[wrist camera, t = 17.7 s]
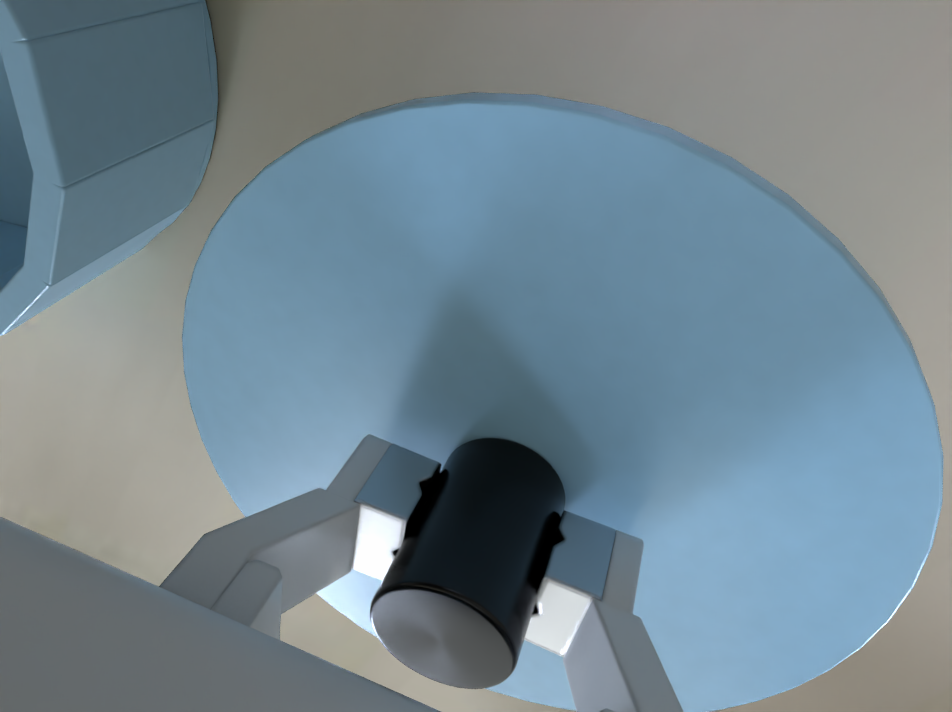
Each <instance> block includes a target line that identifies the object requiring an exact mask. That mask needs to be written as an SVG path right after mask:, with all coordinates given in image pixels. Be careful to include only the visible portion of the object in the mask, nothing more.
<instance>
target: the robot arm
mask: <svg viewBox="0 0 952 712" xmlns="http://www.w3.org/2000/svg"><path fill="white" fill-rule="evenodd" d="M440 470H441V463H439V462H437V461H435V460H432V459H430V458H427V457H425V456H423V455H420V454H418V453H415V452H413V451H411V450H408V449H406V448H403V447H401V446H398V445H396V444H394V443H393V444H392V443H390V442H388V441H385V440H383V439H380V438H378V437H376V436H373V435H371V434H368V435H367V436H366V437H364V438H363V439H362V440H361V442H360V443H359V445H358V446H357V447H356V449H355V450H354V452H353V453H352V454H351V456H350V457H349V459H348V460H347V461H346V463H345V464H344V466H343V467H342V468H341V470H340V471H339V473H338V474H337V475H336V477H335V478H334V480H333V481H332V482H331V484H330V485H329V487H328V488H327V489H326V490H324V489H321V488H317V489H314V490H312V491H309V492H307V493H305V494H302V495H300V496H297V497H295V498H292V499H290V500H287V501H285V502H282V503H280V504H277V505H275V506H272V507H270V508H268V509H265V510H263V511H260V512H258V513H255V514H253V515H250V516H248V517H245V518H243V519H240V520H238V521H235V522H233V523H231V524H228V525H226V526H223V527H221V528H218V529H216V530H213V531H211V532H208V533H206V534H204V535H203V536H202V537H201V538H200V540H199V541H198V542H197V543H196V544H195V545H194V547H193V548H192V549H191V550H190V551H189V552H188V554H187V555H186V556H185V557H184V558H183V559H182V561H181V562H180V563H179V564H178V565H177V566H176V568H175V569H174V570H173V571H172V572H171V573H170V574H169V576H168V577H167V578H166V579H165V580H164V581H163V583H162V584H161V585H160V586H159V587H158V586H156V585H154V584H151V583H149V582H147V581H145V580H142V579H140V578H138V577H136V576H133V575H131V574H129V573H127V572H124V571H122V570H120V569H118V568H115V567H113V566H111V565H109V564H106V563H104V562H102V561H100V560H97V559H95V558H93V557H91V556H88V555H86V554H84V553H82V552H79V551H77V550H75V549H73V548H70V547H68V546H66V545H63V544H61V543H59V542H57V541H54V540H52V539H50V538H48V537H45V536H43V535H41V534H39V533H36V532H34V531H32V530H30V529H27V528H25V527H23V526H21V525H18V524H16V523H14V522H12V521H9V520H7V519H5V518H3V517H0V712H440V711H438V710H436V709H434V708H431V707H429V706H427V705H425V704H422V703H420V702H418V701H416V700H413V699H411V698H409V697H407V696H404V695H402V694H400V693H398V692H395V691H393V690H391V689H388V688H386V687H384V686H382V685H379V684H377V683H375V682H373V681H370V680H368V679H366V678H364V677H361V676H359V675H357V674H355V673H352V672H350V671H348V670H346V669H343V668H341V667H339V666H337V665H334V664H332V663H330V662H328V661H325V660H323V659H321V658H319V657H316V656H314V655H312V654H310V653H307V652H305V651H303V650H300V649H298V648H296V647H294V646H291V645H289V644H287V643H285V642H282V641H280V618H281V614H282V613H284V612H286V611H287V610H289V609H291V608H292V607H294V606H295V605H297V604H299V603H300V602H302V601H304V600H305V599H307V598H309V597H310V596H312V595H313V594H315V593H317V592H318V591H320V590H322V589H323V588H325V587H327V586H328V585H330V584H332V583H333V582H335V581H336V580H338V579H340V578H341V577H343V576H345V575H346V574H348V573H350V572H351V569H354V570H356V571H359V572H361V573H364V574H366V575H369V576H372V577H374V578H377V579H379V580H383V578H384V576H385V575H386V573H387V571H388V569H389V567H390V565H391V563H392V562H393V560H394V558H395V556H396V554H397V552H398V550H399V549H400V547H401V545H402V543H403V541H404V539H405V537H406V535H407V534H408V532H409V530H410V528H411V526H412V524H413V522H414V521H415V519H416V517H417V515H418V513H419V511H420V509H421V508H422V506H423V504H424V502H425V500H426V498H427V496H428V494H429V493H430V491H431V489H432V487H433V485H434V483H435V481H436V480H437V478H438V476H439V474H440ZM643 548H644V543H643V540H642V539H639V538H637V537H634V536H631V535H629V534H626V533H624V532H621V531H618V530H616V531H615V529H613V528H611V527H608V526H605V525H603V524H600V523H597V522H595V521H592V520H589V519H587V518H584V517H581V516H579V515H576V514H573V513H571V512H568V511H565V510H564V511H563V513H562V515H561V517H560V521H559V524H558V527H557V530H556V533H555V536H554V540H553V543H552V549H551V553H550V555H549V558H548V560H547V563H546V566H545V569H544V572H543V576H542V579H541V582H540V586H539V589H538V592H537V598H536V603H535V606H534V610H533V613H532V616H531V619H530V623H529V626H528V629H527V633H526V636H525V639H524V640H526V641H528V642H530V643H532V644H535V645H537V646H539V647H541V648H543V649H546V650H548V651H550V652H552V653H555V654H557V655H559V656H561V657H564V658H563V663H564V667H565V670H566V674H567V678H568V681H569V685H570V689H571V693H572V696H573V700H574V704H575V707H576V711H577V712H684V711H683V709H682V707H681V705H680V703H679V700H678V698H677V696H676V694H675V692H674V690H673V687H672V685H671V683H670V681H669V679H668V676H667V674H666V672H665V670H664V668H663V665H662V663H661V661H660V659H659V657H658V654H657V652H656V650H655V648H654V646H653V644H652V641H651V639H650V637H649V635H648V633H647V630H646V628H645V626H644V624H643V622H642V619H641V618H640V617H638V616H636V615H634V614H633V609H634V603H635V597H636V591H637V585H638V578H639V572H640V566H641V560H642V554H643Z"/></svg>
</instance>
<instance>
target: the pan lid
mask: <svg viewBox="0 0 952 712" xmlns="http://www.w3.org/2000/svg"><path fill="white" fill-rule="evenodd" d="M182 342H183V360H184V374H185V379H186V384H187V389H188V394H189V399H190V404H191V408H192V411H193V414H194V417H195V420H196V423H197V426H198V429H199V432H200V435H201V439H202V441H203V443H204V445H205V448H206V450H207V452H208V454H209V456H210V458H211V461H212V463H213V465H214V467H215V469H216V471H217V473H218V475H219V477H220V478H221V480H222V482H223V483H224V485H225V487H226V488H227V490H228V492H229V494H230V495H231V497H232V499H233V500H234V502H235V503H236V505H237V506H238V508H239V509H240V510H241V512H242V513H243V514H244V516H245V517H248V516H250V515H253V514H255V513H258V512H260V511H263V510H265V509H268V508H270V507H272V506H275V505H277V504H280V503H282V502H285V501H287V500H290V499H292V498H295V497H297V496H300V495H302V494H305V493H307V492H309V491H312V490H314V489H317V488H321V489H324V490H326V489H327V488H328V487H329V485H330V484H331V482H332V481H333V480H334V478H335V477H336V475H337V474H338V473H339V471H340V470H341V468H342V467H343V466H344V464H345V463H346V461H347V460H348V459H349V457H350V456H351V454H352V453H353V452H354V450H355V449H356V447H357V446H358V445H359V443H360V442H361V440H362V439H363V438H364V437H366V436H367V435H368V434H371V435H373V436H376V437H378V438H380V439H383V440H385V441H388V442H390V443H392V444H393V443H394V444H396V445H398V446H401V447H403V448H406V449H408V450H411V451H413V452H415V453H418V454H420V455H423V456H425V457H427V458H430V459H432V460H435V461H437V462H439V463H441V470H440V474H439V476H438V478H437V480H436V481H435V483H434V485H433V487H432V489H431V491H430V493H429V494H428V496H427V498H426V500H425V502H424V504H423V506H422V508H421V509H420V511H419V513H418V515H417V517H416V519H415V521H414V522H413V524H412V526H411V528H410V530H409V532H408V534H407V535H406V537H405V539H404V541H403V543H402V545H401V547H400V549H399V550H398V552H397V554H396V556H395V558H394V560H393V562H392V563H391V565H390V567H389V569H388V571H387V573H386V575H385V576H384V578H383V580H379V579H377V578H374V577H372V576H369V575H366V574H364V573H361V572H359V571H356V570H354V569H351V572H350V573H348V574H346V575H345V576H343V577H341V578H340V579H338V580H336V581H335V582H333V583H332V584H330V585H328V586H327V587H325V588H323V589H322V590H320V591H318V592H317V594H318V595H319V596H320V597H322V598H323V599H324V600H325V601H326V602H327V603H329V604H330V605H331V606H332V607H334V608H335V609H337V610H338V611H339V612H341V613H342V614H343V615H345V616H346V617H348V618H349V619H350V620H352V621H353V622H354V623H356V624H357V625H359V626H360V627H362V628H363V629H365V630H366V631H368V632H370V633H371V634H373V635H374V636H376V637H378V639H379V640H380V642H381V643H382V644H383V645H384V647H385V648H386V649H387V650H388V651H389V652H390V653H391V654H392V655H393V656H394V657H395V658H397V659H398V660H399V661H400V662H402V663H403V664H404V665H406V666H407V667H409V668H410V669H412V670H414V671H415V672H417V673H419V674H421V675H423V676H425V677H427V678H429V679H431V680H434V681H437V682H439V683H443V684H446V685H449V686H454V687H459V688H467V689H482V688H485V689H488V690H491V691H494V692H497V693H501V694H504V695H508V696H511V697H515V698H518V699H522V700H525V701H529V702H533V703H538V704H543V705H548V706H552V707H557V708H562V709H567V710H575V711H576V707H575V704H574V700H573V696H572V693H571V689H570V685H569V681H568V678H567V674H566V670H565V667H564V663H563V658H564V657H561V656H559V655H557V654H555V653H552V652H550V651H548V650H546V649H543V648H541V647H539V646H537V645H535V644H532V643H530V642H528V641H526V640H524V639H525V636H526V633H527V629H528V626H529V623H530V619H531V616H532V613H533V610H534V606H535V603H536V598H537V592H538V589H539V586H540V582H541V579H542V576H543V572H544V569H545V566H546V563H547V560H548V558H549V555H550V553H551V549H552V543H553V540H554V536H555V533H556V530H557V527H558V524H559V521H560V517H561V515H562V513H563V511H564V510H565V511H568V512H571V513H573V514H576V515H579V516H581V517H584V518H587V519H589V520H592V521H595V522H597V523H600V524H603V525H605V526H608V527H611V528H613V529H615V531H616V530H618V531H621V532H624V533H626V534H629V535H631V536H634V537H637V538H639V539H642V540H643V543H644V548H643V554H642V560H641V566H640V572H639V578H638V585H637V591H636V597H635V603H634V609H633V614H634V615H636V616H638V617H640V618H641V619H642V622H643V624H644V626H645V628H646V630H647V633H648V635H649V637H650V639H651V641H652V644H653V646H654V648H655V650H656V652H657V654H658V657H659V659H660V661H661V663H662V665H663V668H664V670H665V672H666V674H667V676H668V679H669V681H670V683H671V685H672V687H673V690H674V692H675V694H676V696H677V698H678V700H679V703H680V705H681V707H682V709H683V711H684V712H708V711H716V710H722V709H726V708H730V707H734V706H739V705H743V704H747V703H752V702H756V701H759V700H762V699H765V698H768V697H770V696H773V695H776V694H779V693H782V692H784V691H787V690H790V689H793V688H795V687H797V686H799V685H801V684H803V683H805V682H807V681H809V680H811V679H813V678H815V677H817V676H819V675H821V674H823V673H825V672H827V671H829V670H830V669H832V668H833V667H835V666H836V665H837V664H839V663H840V662H842V661H843V660H845V659H846V658H847V657H849V656H850V655H852V654H853V653H855V652H856V651H857V650H859V649H860V648H862V647H863V646H864V645H865V644H866V643H867V642H868V641H869V640H870V639H871V638H872V637H873V636H874V635H875V634H876V633H877V632H878V631H879V630H880V629H881V628H882V627H883V626H884V625H885V624H886V623H887V622H888V621H889V620H890V619H891V618H892V616H893V615H894V614H895V612H896V611H897V609H898V608H899V607H900V605H901V604H902V603H903V601H904V600H905V598H906V597H907V596H908V594H909V593H910V591H911V590H912V589H913V587H914V585H915V583H916V581H917V579H918V577H919V574H920V572H921V570H922V568H923V566H924V563H925V561H926V559H927V557H928V555H929V553H930V550H931V548H932V545H933V541H934V537H935V532H936V528H937V524H938V519H939V515H940V511H941V506H942V492H943V451H942V445H941V439H940V434H939V428H938V422H937V417H936V411H935V405H934V402H933V400H932V397H931V394H930V391H929V388H928V386H927V383H926V380H925V378H924V375H923V372H922V370H921V367H920V364H919V362H918V359H917V357H916V354H915V351H914V349H913V346H912V343H911V341H910V338H909V337H908V335H907V333H906V332H905V330H904V328H903V327H902V325H901V323H900V321H899V320H898V318H897V316H896V315H895V313H894V311H893V310H892V308H891V306H890V305H889V303H888V301H887V300H886V298H885V296H884V294H883V293H882V291H881V289H880V288H879V287H878V285H877V284H876V283H875V282H874V281H873V279H872V278H871V277H870V276H869V275H868V273H867V272H866V271H865V270H864V269H863V267H862V266H861V265H860V264H859V263H858V261H857V260H856V259H855V258H854V257H853V255H852V254H851V253H850V252H849V251H848V250H847V248H846V247H845V246H844V245H843V244H842V242H841V241H840V240H839V239H838V238H837V237H836V236H835V235H834V234H832V233H831V232H830V231H829V230H828V229H827V228H826V227H824V226H823V225H822V224H821V223H820V222H819V221H818V220H817V219H815V218H814V217H813V216H812V215H811V214H810V213H809V212H808V211H806V210H805V209H804V208H803V207H802V206H801V205H800V204H798V203H797V202H796V201H795V200H794V199H793V198H792V197H791V196H789V195H788V194H787V193H785V192H784V191H782V190H780V189H779V188H777V187H776V186H774V185H773V184H771V183H770V182H768V181H767V180H765V179H764V178H762V177H761V176H759V175H758V174H756V173H755V172H753V171H752V170H750V169H749V168H747V167H746V166H744V165H742V164H741V163H739V162H738V161H736V160H735V159H733V158H732V157H730V156H728V155H726V154H724V153H722V152H719V151H717V150H715V149H713V148H711V147H709V146H707V145H705V144H703V143H701V142H698V141H696V140H694V139H692V138H690V137H688V136H686V135H684V134H682V133H680V132H677V131H675V130H673V129H671V128H669V127H666V126H663V125H660V124H657V123H654V122H651V121H648V120H644V119H641V118H638V117H635V116H632V115H629V114H626V113H622V112H619V111H616V110H613V109H610V108H607V107H604V106H599V105H593V104H588V103H582V102H576V101H570V100H565V99H559V98H553V97H548V96H542V95H534V94H505V93H475V92H473V93H464V94H455V95H446V96H437V97H428V98H419V99H413V100H409V101H405V102H402V103H398V104H394V105H390V106H387V107H383V108H379V109H376V110H372V111H368V112H364V113H361V114H359V115H357V116H355V117H352V118H350V119H348V120H346V121H343V122H341V123H339V124H337V125H335V126H332V127H330V128H328V129H326V130H324V131H321V132H319V133H317V134H315V135H313V136H311V137H310V138H308V139H306V140H304V141H303V142H301V143H300V144H298V145H297V146H295V147H294V148H292V149H291V150H290V151H288V152H287V153H285V154H284V155H282V156H281V157H279V158H278V159H276V160H275V161H273V162H272V163H270V164H269V165H267V166H266V167H265V168H264V169H263V170H262V171H261V172H260V173H259V174H258V175H257V176H256V177H255V178H254V179H252V180H251V181H250V182H249V183H248V184H247V185H246V186H245V187H244V188H243V189H242V190H241V191H240V192H239V193H238V194H237V195H236V196H235V197H234V199H233V200H232V201H231V203H230V204H229V206H228V207H227V209H226V210H225V211H224V213H223V214H222V216H221V217H220V218H219V220H218V221H217V223H216V224H215V226H214V227H213V228H212V230H211V232H210V234H209V236H208V238H207V241H206V243H205V245H204V247H203V249H202V252H201V254H200V256H199V258H198V260H197V262H196V265H195V267H194V271H193V275H192V279H191V283H190V286H189V290H188V294H187V298H186V302H185V312H184V323H183V334H182Z"/></svg>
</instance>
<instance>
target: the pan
mask: <svg viewBox="0 0 952 712" xmlns="http://www.w3.org/2000/svg"><path fill="white" fill-rule="evenodd" d="M217 106H218V83H217V61H216V54H215V48H214V41H213V35H212V28H211V22H210V17H209V14H208V10H207V6H206V2H205V0H0V335H4V334H6V333H8V332H10V331H11V330H13V329H14V328H16V327H18V326H19V325H21V324H22V323H24V322H26V321H27V320H29V319H30V318H32V317H34V316H35V315H37V314H38V313H40V312H42V311H43V310H45V309H46V308H48V307H50V306H51V305H53V304H54V303H56V302H58V301H59V300H61V299H63V298H64V297H66V296H67V295H69V294H71V293H72V292H74V291H75V290H77V289H79V288H80V287H82V286H83V285H85V284H87V283H88V282H90V281H91V280H93V279H95V278H96V277H98V276H99V275H101V274H103V273H104V272H106V271H107V270H109V269H111V268H112V267H114V266H115V265H117V264H119V263H120V262H122V261H123V260H125V259H127V258H128V257H130V256H131V255H133V254H135V253H136V252H138V251H139V250H141V249H143V248H144V247H145V246H146V245H147V244H148V243H149V242H150V241H151V240H152V239H153V238H154V237H155V236H156V235H158V234H159V233H160V232H161V231H163V230H164V229H165V228H167V227H168V226H169V225H170V224H172V223H173V222H174V221H175V220H176V218H177V217H178V216H179V215H180V214H181V213H182V212H183V210H184V209H185V208H186V207H187V206H188V205H189V203H190V202H191V201H192V197H193V196H194V194H195V192H196V190H197V189H198V187H199V185H200V183H201V180H202V178H203V175H204V172H205V170H206V167H207V165H208V162H209V159H210V155H211V150H212V145H213V140H214V136H215V131H216V119H217Z"/></svg>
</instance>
